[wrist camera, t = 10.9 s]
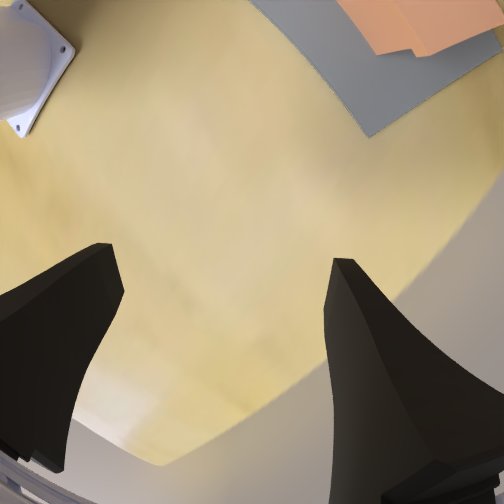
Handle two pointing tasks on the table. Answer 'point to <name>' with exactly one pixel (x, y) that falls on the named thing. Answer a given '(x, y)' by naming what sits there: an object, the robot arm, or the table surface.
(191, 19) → the table surface
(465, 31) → the terracotta stool
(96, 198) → the table surface
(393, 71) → the slate mat
